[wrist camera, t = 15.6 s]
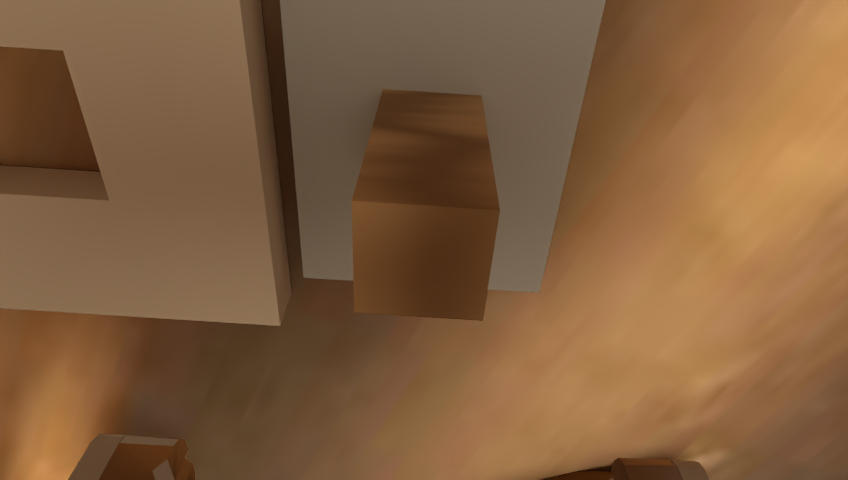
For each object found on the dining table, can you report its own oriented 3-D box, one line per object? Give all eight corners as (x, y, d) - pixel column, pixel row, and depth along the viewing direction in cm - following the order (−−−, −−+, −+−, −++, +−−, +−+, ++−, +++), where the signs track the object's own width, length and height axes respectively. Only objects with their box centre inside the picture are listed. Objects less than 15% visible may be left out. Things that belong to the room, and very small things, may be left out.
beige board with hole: (-79, 270, 30) (-118, 300, 28) (-353, -203, 18) (-455, -212, 16) (291, 293, 30) (280, 325, 28) (244, -163, 18) (219, -166, 16)
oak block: (381, 176, 24) (353, 312, 17) (382, 89, 22) (351, 201, 15) (471, 182, 24) (482, 320, 17) (481, 95, 22) (500, 210, 15)
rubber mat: (307, 265, 29) (303, 277, 28) (279, -92, 20) (271, -90, 19) (536, 280, 29) (539, 292, 28) (613, -69, 20) (620, -66, 19)
